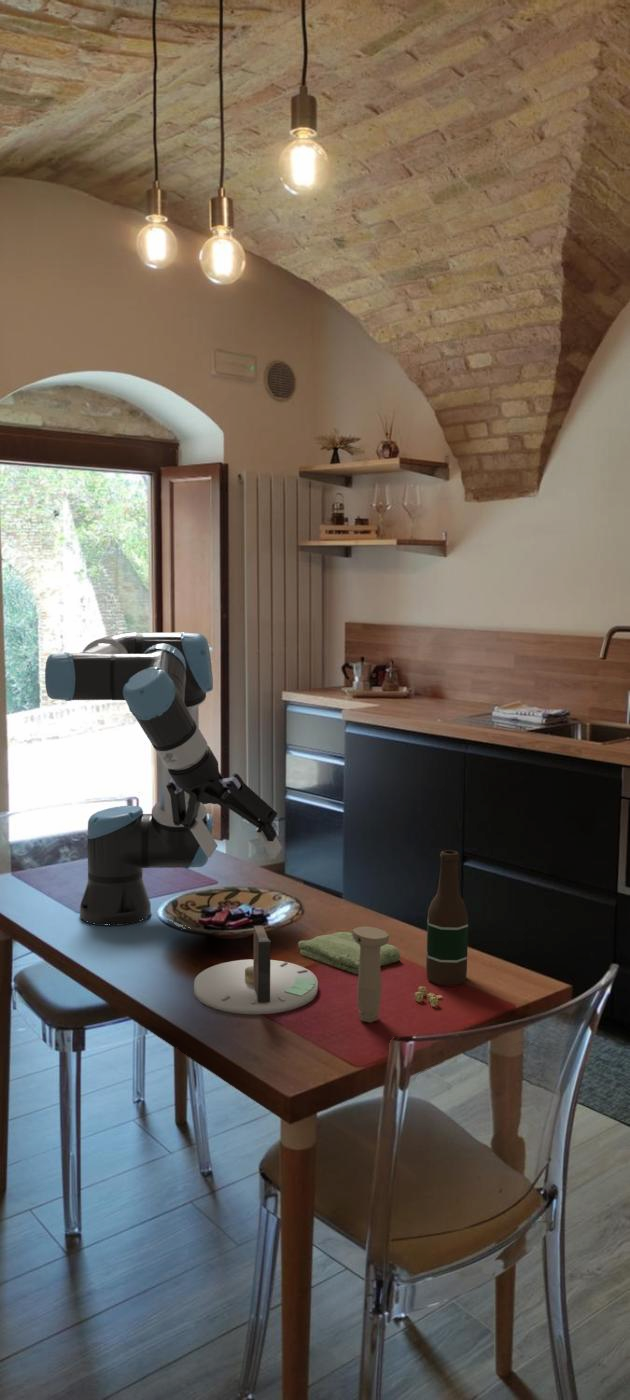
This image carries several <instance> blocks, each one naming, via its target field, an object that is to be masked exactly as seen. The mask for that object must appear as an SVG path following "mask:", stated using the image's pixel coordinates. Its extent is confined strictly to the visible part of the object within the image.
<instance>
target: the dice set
mask: <svg viewBox="0 0 630 1400" xmlns="http://www.w3.org/2000/svg"><path fill="white" fill-rule="evenodd" d="M427 989H428V988H427V987H426V986H418V991H416V992H414V1001H415V1000H416V1001H424V997H423V996H425V995H426V996H425V997H426V1000H427V1002H428V1001H430V1003H429V1006H430V1005H431V1006H438V1007H439V1000H438V998H443V999H444V997H443V995H441V994H438V995H436V994H435V993H433V992H429V993H428V991H427ZM427 993H428V994H427ZM436 997H437V998H436Z"/></svg>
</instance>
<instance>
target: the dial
mask: <svg viewBox="0 0 630 1400" xmlns="http://www.w3.org/2000/svg"><path fill="white" fill-rule="evenodd" d="M253 961H254V958H253V959H237V960H231V961H227V962H226V961H225V962H221V963H219V964H215V965H213V966H210V967H208V968H206V969H204V970H202V971H201V972H199V973H198V974H197V976H195V978H194V982H193V992H194V995H195V997H196V1000H198V1001H199V1002H201V1003H202V1004H204V1005H205V1006H207V1007H210V1008H212V1009H215V1010H218V1011H222V1012H227V1013H232V1014H240V1015H270V1014H277V1013H283V1012H289V1011H292V1010H295V1009H299V1008H301V1007H303V1006H305V1005H307V1004H309V1003H310V1002H312V1001H313V1000H314V999H315V998H316V996H317V994H318V984H319V983H318V982H319V981H318V978H317V976H316V975H315V974H314V972H312V971H311V970H309V969H308V968H306V967H304V966H302V965H299V964H295V963H293V962H288V961H282V960H275V959H270V1002H266V1003H258V1001H257V994H256V991H255V988H254V985H253V984H252V983H248V982H246V981H245V969H246V968H247V967H250V966H253Z"/></svg>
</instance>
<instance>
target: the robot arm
mask: <svg viewBox="0 0 630 1400" xmlns="http://www.w3.org/2000/svg"><path fill="white" fill-rule="evenodd" d="M212 666H213V665H212V658H211V652H210V646H209V642H208V640H207V638H206V636H205V635H203V634H201V633H196V632H195V633H192V632H187V631H181V632H147V631H146V632H144V631H143V632H137V631H134V632H133V631H131V632H130V631H129V632H128V631H127V632H121V633H115V634H112V635H107V636H104V637H101V638H98V639H96V640H93V641H91V642H89V643H88V644H87V645H86V646H85V647H84V649H83V650H82V651H81V652H75V653H73V652H72V653H70V652H63V653H62V652H61V653H51V654H50V655H48V656H47V658H46V663H45V670H44V671H45V672H44V681H45V682H44V683H45V684H44V685H45V690H46V691H45V692H46V694H47V696H48V697H49V698H50V699H52V700H57V701H62V700H63V701H65V702H67V701H68V702H71V701H125V702H126V704H127V706H128V709H129V712H131V715H132V716H134V718H135V719H136V721H137V723H138V724H139V726H140V728H141V729H142V730H143V732H144V734H145V736H146V737H147V739H148V740H149V741H150V744H151V745H152V747H153V748H154V750H155V752H156V756H157V759H156V761H157V762H156V763H157V793H158V794H157V795H158V796H157V797H158V801H157V802H156V803H155V804H154V805H153V807H152V809H151V813H144V810H143V808H142V807H141V806H138V805H120V806H115V807H114V806H113V807H109V808H106V809H105V808H104V809H102V810H98V811H96V812H95V813H93V814H91V816H90V817H89V818H88V821H87V834H86V839H87V883H86V886H85V889H84V893H83V896H82V899H81V900H80V901H81V902H80V905H79V918H80V917H81V918H82V919H83V920H85V921H88V922H91V923H95V924H94V925H97V924H108V925H107V926H118V925H117V924H125V925H128V924H127V923H131V924H133V923H132V922H136V923H138V922H137V921H139V922H141V921H140V920H142V919H144V920H146V919H147V918H146V917H148V916H149V915H150V916H151V914H150V913H151V911H152V910H151V909H152V908H151V907H152V905H151V900H150V898H149V895H148V892H147V891H148V890H147V888H146V886H145V883H144V879H143V875H144V874H143V873H144V872H143V869H162V868H163V869H164V868H165V869H170V868H172V869H174V868H175V869H177V868H178V869H179V868H180V869H181V868H183V869H186V870H187V869H190V868H202V867H204V866H206V864H207V863H208V861H209V858H211V857H212V855H213V854H214V853H215V851H216V849H217V848H218V846H219V845H218V844H217V842H216V840H215V839H214V837H213V833H212V832H213V827H214V825H213V824H214V816H213V814H212V813H209V812H207V807H206V805H208V804H211V805H218V806H220V807H222V808H227V809H228V810H230V811H232V812H233V813H235V814H237V815H238V816H240V817H241V818H243V819H244V820H245V821H247V822H249V824H252V825H253V826H254V827H256V828H255V829H254V831H255V833H256V835H257V836H258V838H259V840H260V842H261V843H262V845H263V847H264V850H266V852H267V854H268V856H269V857H270V859H271V860H276V857H277V856H278V855H279V853H280V851H281V850H282V848H283V846H282V844H281V843H280V841H279V840H278V837H277V835H278V834H277V831H276V829H275V827H274V826H273V823H274V820H276V817H277V816H278V812H277V811H275V809H273V808H272V806H270V805H269V804H268V803H267V802H266V801H265V800H263V798H262V797H260V796H259V795H258V794H257V793H256V792H255V791H254V790H252V789H251V788H250V787H249V786H248V785H247V784H246V783H245V782H244V781H243V779H242V778H241V775H239V774H238V773H233V774H232V776H230V777H224V776H223V775H222V774H221V773H220V769H219V762H218V761H219V760H217V758H216V756H215V754H214V753H213V751H212V749H211V747H210V746H209V745H208V742H207V740H206V738H205V736H204V735H203V733H202V732H201V730H200V728H199V723H200V722H199V719H200V718H199V717H200V716H199V710H200V709H199V706H200V705H201V704H203V703H204V702H205V700H206V699H207V693H209V692H211V691H213V689H214V677H213V676H214V675H213V671H212V670H213V669H212ZM226 793H227V796H226V798H225V799H224V796H225V794H226ZM150 916H149V917H150ZM149 917H148V918H149ZM81 918H80V919H81ZM145 918H146V919H145ZM82 919H81V920H82ZM83 920H82V921H83ZM85 921H84V922H85ZM142 921H143V920H142ZM88 922H87V923H88ZM91 923H90V924H91ZM109 924H110V925H109Z"/></svg>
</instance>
